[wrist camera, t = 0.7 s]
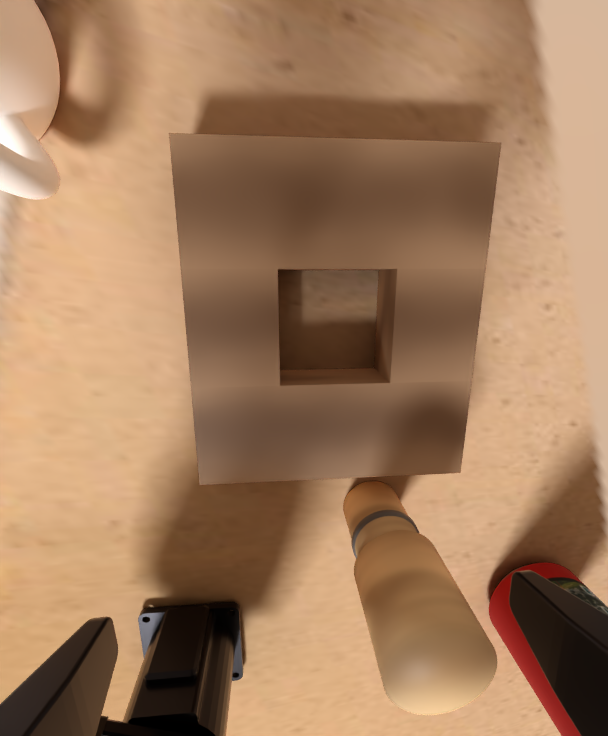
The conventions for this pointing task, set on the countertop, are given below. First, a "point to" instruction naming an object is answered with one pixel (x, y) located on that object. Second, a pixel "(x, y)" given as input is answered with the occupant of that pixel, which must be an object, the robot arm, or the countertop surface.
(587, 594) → the beverage can
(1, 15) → the mug
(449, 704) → the peg
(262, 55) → the countertop surface
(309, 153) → the board
